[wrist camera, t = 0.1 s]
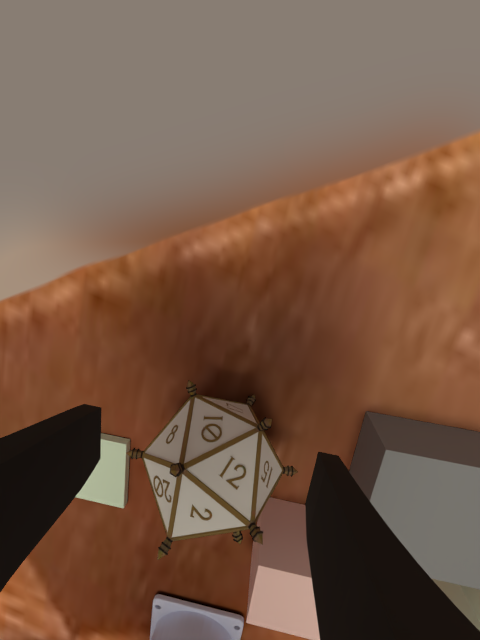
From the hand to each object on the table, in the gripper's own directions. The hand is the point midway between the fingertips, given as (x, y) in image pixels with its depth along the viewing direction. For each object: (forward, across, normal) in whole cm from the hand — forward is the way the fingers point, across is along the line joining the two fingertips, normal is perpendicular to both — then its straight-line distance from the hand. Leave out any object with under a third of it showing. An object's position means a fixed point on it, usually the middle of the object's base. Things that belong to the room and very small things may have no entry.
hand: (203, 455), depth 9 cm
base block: (+10, -13, +7) cm, 18 cm away
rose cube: (+10, -6, +14) cm, 18 cm away
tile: (+10, +10, +12) cm, 19 cm away
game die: (+10, 0, +6) cm, 12 cm away
